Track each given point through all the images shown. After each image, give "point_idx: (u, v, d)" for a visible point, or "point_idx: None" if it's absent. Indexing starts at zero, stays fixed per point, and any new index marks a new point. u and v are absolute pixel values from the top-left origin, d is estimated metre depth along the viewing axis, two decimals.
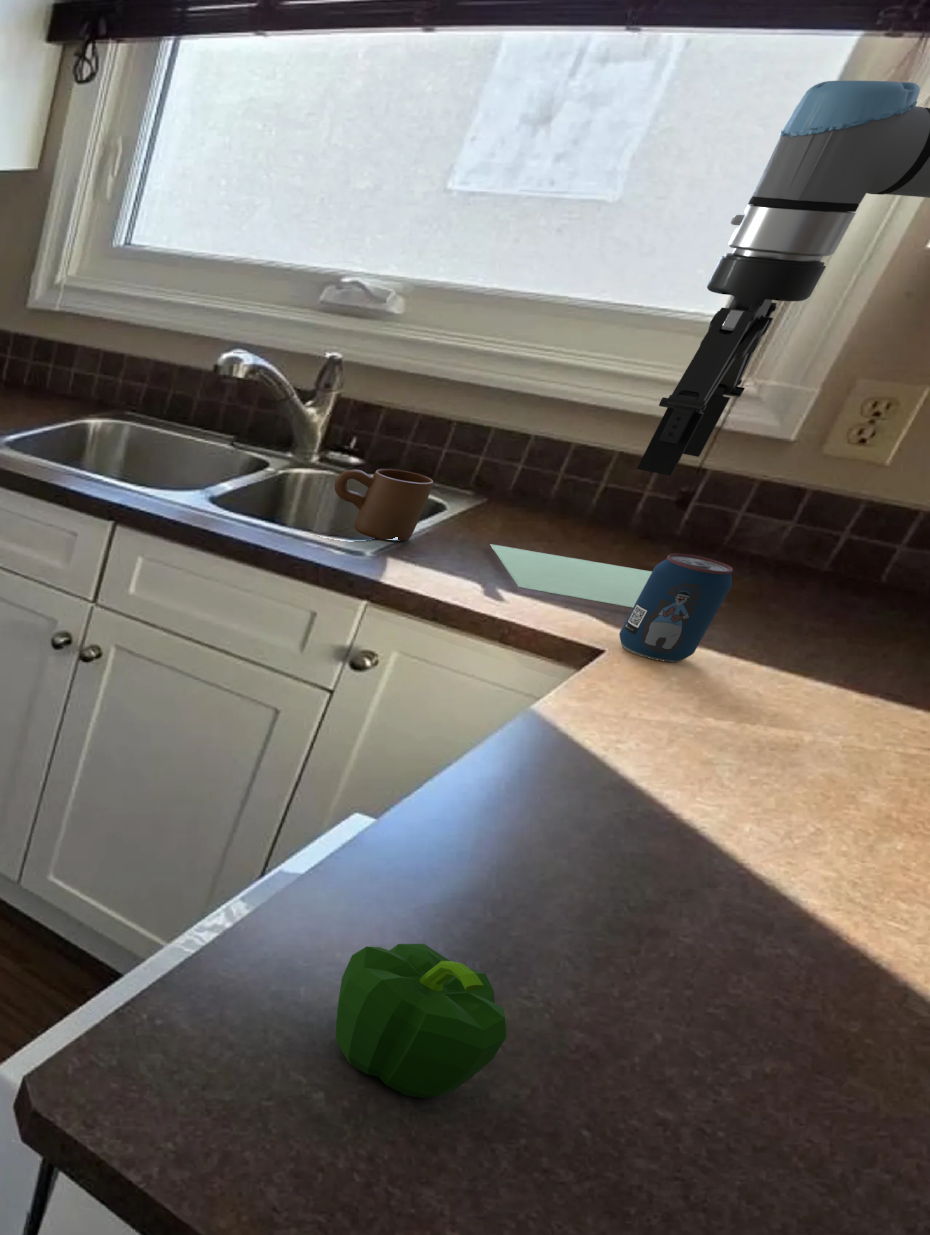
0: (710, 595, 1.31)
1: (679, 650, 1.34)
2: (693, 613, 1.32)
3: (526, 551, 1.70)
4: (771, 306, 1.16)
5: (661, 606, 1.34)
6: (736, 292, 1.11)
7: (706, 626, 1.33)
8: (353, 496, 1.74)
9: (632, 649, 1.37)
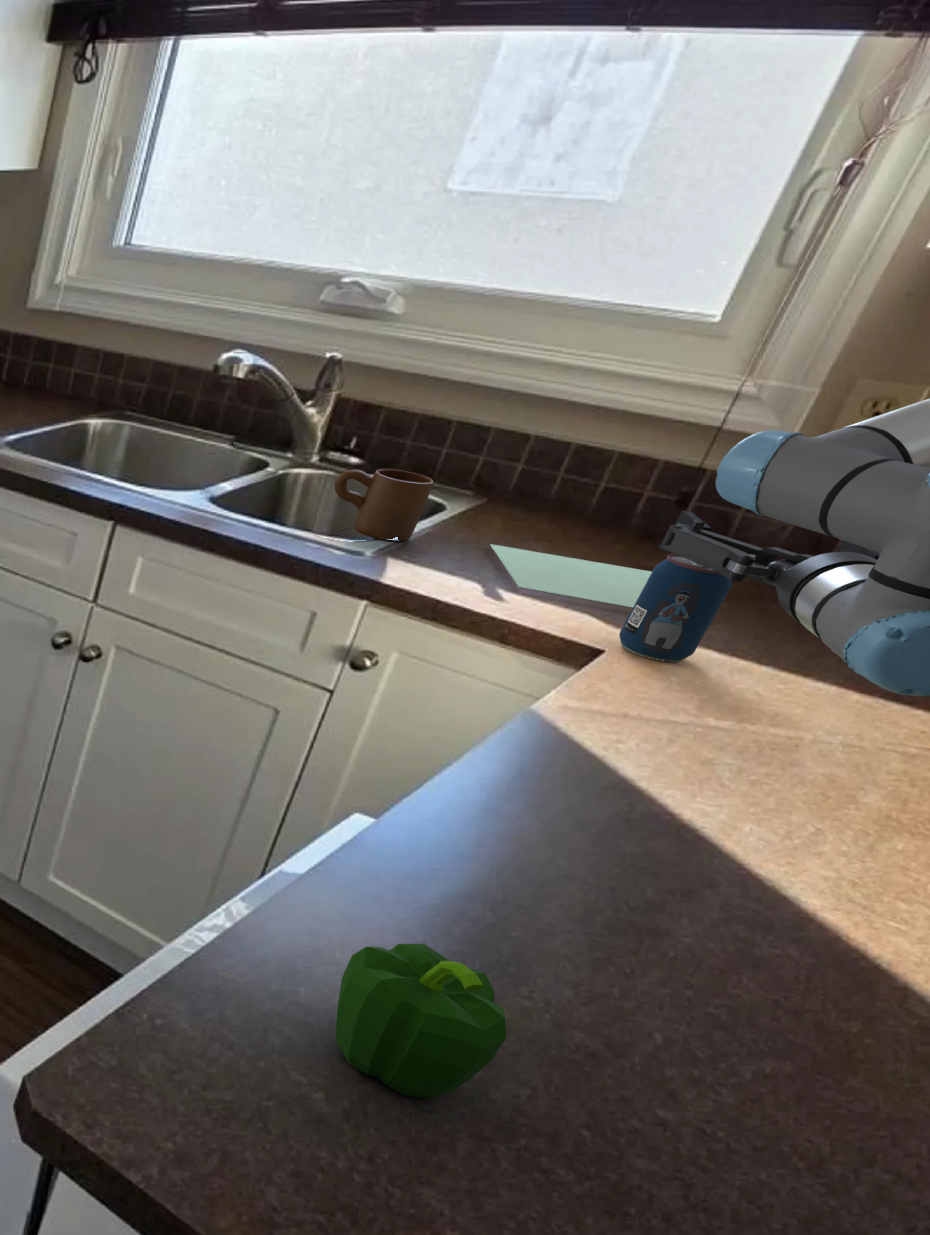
0: (710, 595, 1.31)
1: (679, 650, 1.34)
2: (693, 613, 1.32)
3: (526, 551, 1.70)
4: (754, 560, 1.11)
5: (661, 606, 1.34)
6: None
7: (706, 626, 1.33)
8: (353, 496, 1.74)
9: (632, 649, 1.37)
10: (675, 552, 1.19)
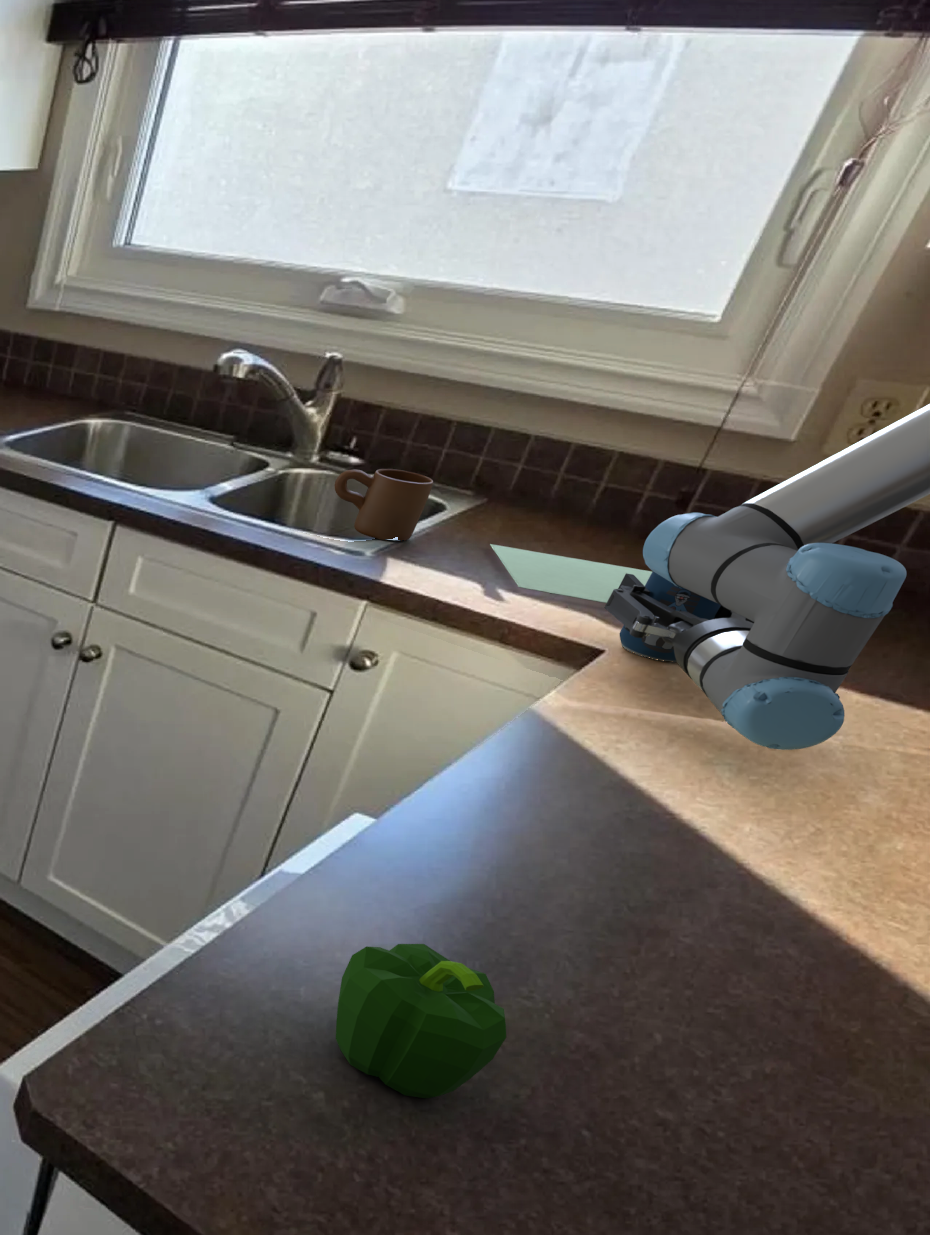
0: None
1: None
2: (694, 613, 1.32)
3: (526, 551, 1.70)
4: (651, 620, 1.28)
5: None
6: None
7: None
8: (353, 496, 1.74)
9: (632, 649, 1.37)
10: (611, 612, 1.35)
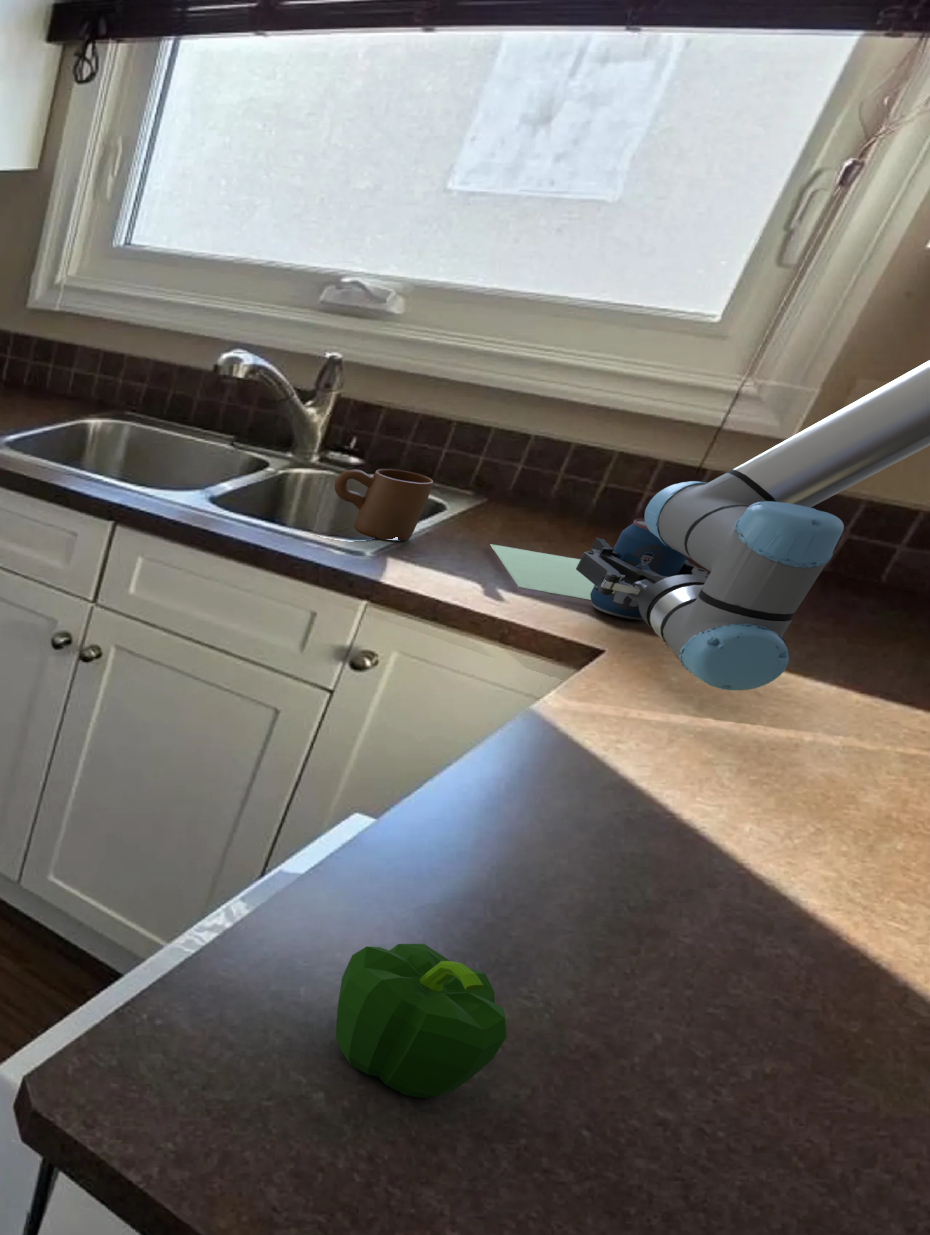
0: (673, 556, 1.42)
1: None
2: (657, 573, 1.43)
3: (526, 551, 1.70)
4: (618, 578, 1.38)
5: None
6: None
7: None
8: (353, 496, 1.74)
9: (602, 608, 1.48)
10: (581, 572, 1.46)
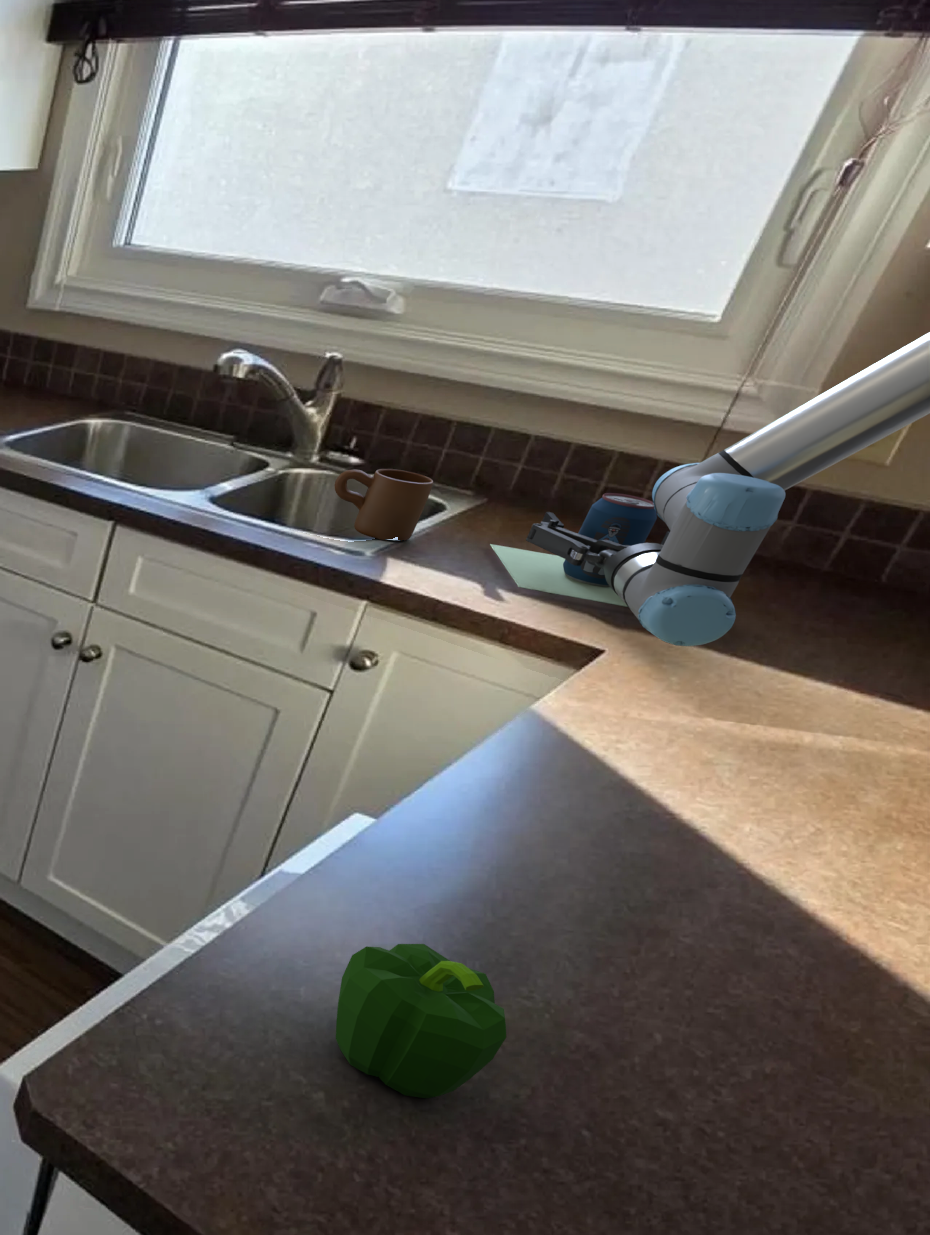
0: (638, 527, 1.53)
1: None
2: (624, 543, 1.54)
3: (526, 551, 1.70)
4: (588, 550, 1.49)
5: (597, 537, 1.56)
6: None
7: None
8: (353, 496, 1.74)
9: (573, 577, 1.59)
10: (536, 544, 1.56)
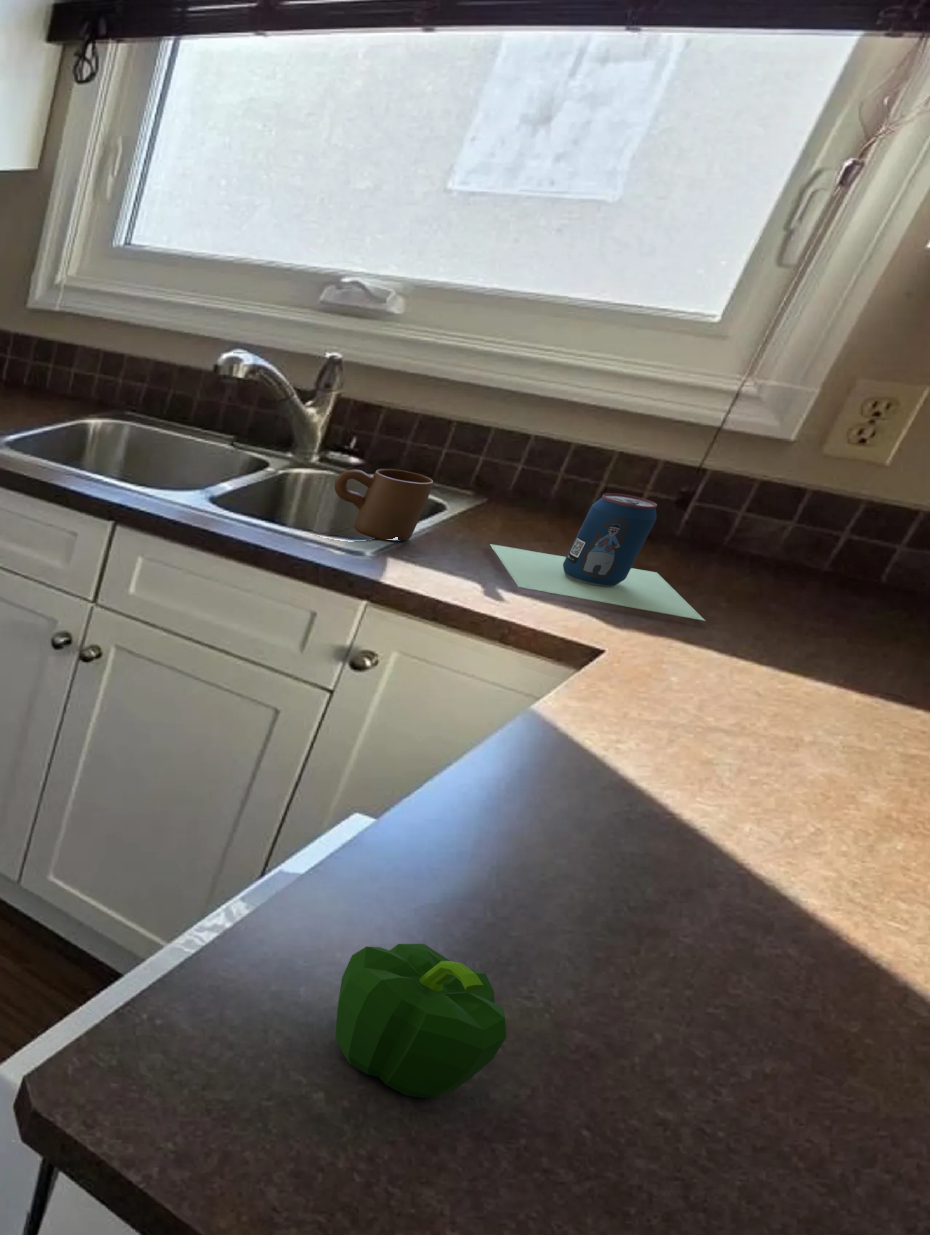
0: (638, 527, 1.53)
1: (612, 576, 1.56)
2: (624, 543, 1.54)
3: (526, 551, 1.70)
4: None
5: (597, 537, 1.56)
6: None
7: (635, 554, 1.55)
8: (353, 496, 1.74)
9: (573, 577, 1.59)
10: None
